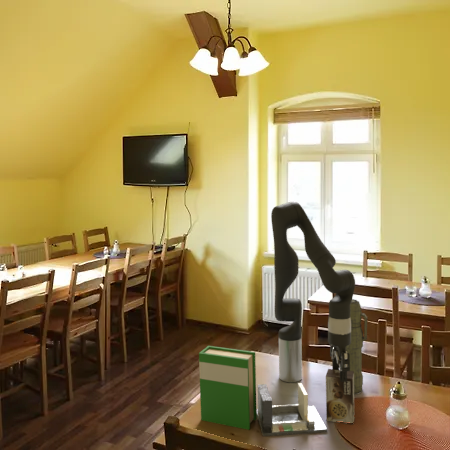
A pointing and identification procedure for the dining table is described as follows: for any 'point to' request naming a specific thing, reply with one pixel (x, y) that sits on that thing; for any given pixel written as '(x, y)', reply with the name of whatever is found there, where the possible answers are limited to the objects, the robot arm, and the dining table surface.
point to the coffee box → (339, 397)
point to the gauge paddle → (303, 403)
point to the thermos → (356, 344)
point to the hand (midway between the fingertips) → (339, 376)
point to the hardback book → (228, 386)
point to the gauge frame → (285, 417)
